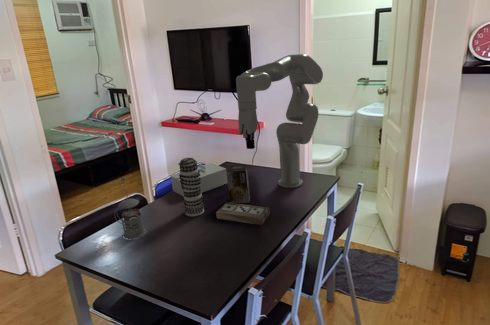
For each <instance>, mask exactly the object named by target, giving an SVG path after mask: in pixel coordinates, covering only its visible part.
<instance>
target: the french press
mask: <svg viewBox="0 0 490 325" xmlns="http://www.w3.org/2000/svg"><path fill="white" fill-rule="evenodd" d="M126 180H127V178H126V177H125V176H122V177H121V178H120V181H121V182H123V184H124V189H125V194H126V199H123V200H122V201H121V202H119V203H118V204H117V208H115V210H114V212H113V213H114V218H115V220H116V222H117V223H119V224H121V225H122V229H123V232H124V233H123V235H122V237H123V236H124V237H125V238H128V239H134V238H138V237H141V236H143V235H144V234H145V233H146V232H147V233H148V230H147V229H145V227H144V222H143V217H142V213H141V212H140V209H139V208H135V207H137V206H138V205H139V203H140V200H138V199H136V198H128V194H127V192H128V191H127V188H126V183H125V181H126ZM118 210H119V211H122V210H124V211H122V212H121V214H120V215H121V218H120V216H119V214H118V213H116V212H117V211H118ZM116 216H117V217H116ZM117 218H118V219H119V220H118V219H117ZM146 230H147V231H146ZM147 233H146V234H147ZM143 237H144V236H143Z"/></svg>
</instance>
